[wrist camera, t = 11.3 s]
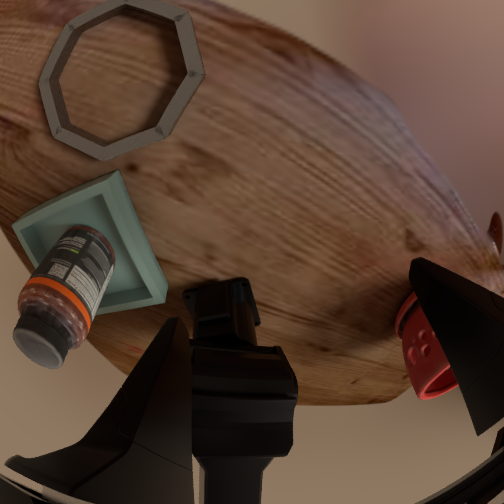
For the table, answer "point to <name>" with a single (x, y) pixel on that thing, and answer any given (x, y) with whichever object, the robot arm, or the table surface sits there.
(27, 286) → the supplement bottle
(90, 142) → the holder ring
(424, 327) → the plant pot
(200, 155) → the table surface
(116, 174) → the tray
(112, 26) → the table surface
